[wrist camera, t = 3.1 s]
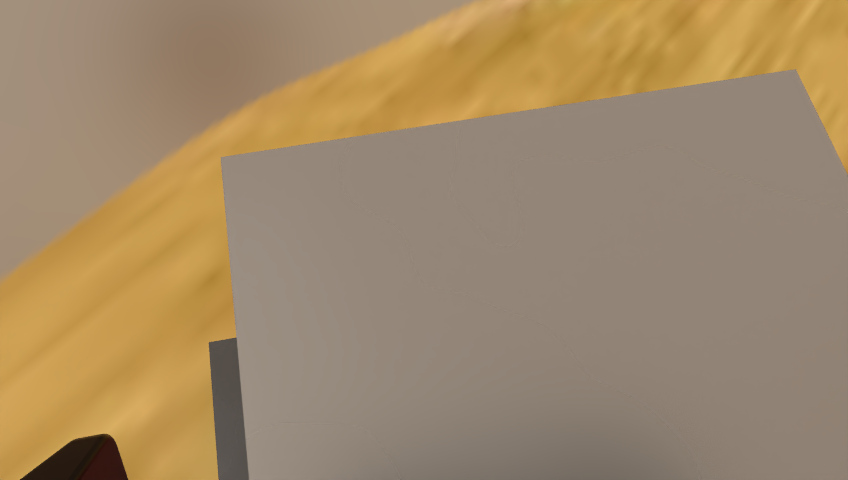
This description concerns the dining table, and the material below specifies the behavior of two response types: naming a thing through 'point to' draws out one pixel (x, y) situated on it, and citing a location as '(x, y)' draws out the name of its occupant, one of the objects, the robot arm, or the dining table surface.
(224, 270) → the dining table surface
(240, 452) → the stand
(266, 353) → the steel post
